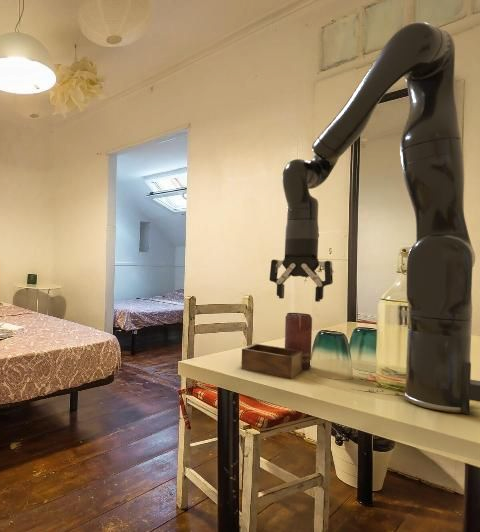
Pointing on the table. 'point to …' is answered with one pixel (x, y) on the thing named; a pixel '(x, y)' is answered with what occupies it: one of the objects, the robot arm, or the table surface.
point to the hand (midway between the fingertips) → (299, 299)
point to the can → (299, 335)
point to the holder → (272, 360)
